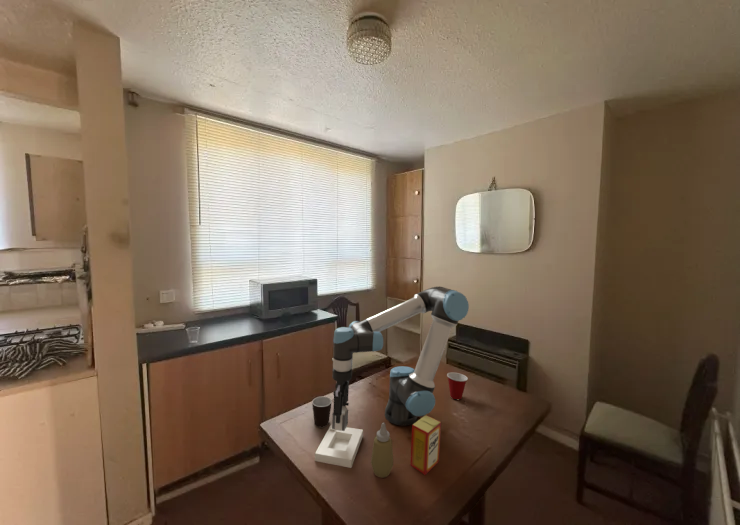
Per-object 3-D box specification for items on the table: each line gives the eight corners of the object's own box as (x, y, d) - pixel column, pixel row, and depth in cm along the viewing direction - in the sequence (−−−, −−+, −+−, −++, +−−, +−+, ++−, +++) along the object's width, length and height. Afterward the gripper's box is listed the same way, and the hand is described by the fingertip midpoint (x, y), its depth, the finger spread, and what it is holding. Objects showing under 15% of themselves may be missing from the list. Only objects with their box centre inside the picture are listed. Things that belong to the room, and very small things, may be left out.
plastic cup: (470, 397, 162) (471, 376, 161) (460, 405, 154) (461, 382, 153) (452, 390, 169) (453, 369, 168) (441, 396, 162) (442, 375, 161)
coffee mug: (327, 430, 130) (328, 408, 130) (308, 427, 132) (309, 405, 131) (335, 415, 142) (336, 394, 141) (318, 412, 143) (318, 392, 143)
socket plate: (362, 436, 127) (362, 427, 127) (351, 467, 109) (351, 458, 109) (330, 431, 130) (331, 422, 129) (314, 460, 112) (315, 451, 112)
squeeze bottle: (369, 463, 112) (371, 417, 110) (391, 462, 112) (393, 416, 111) (371, 481, 104) (373, 431, 102) (394, 480, 104) (396, 430, 103)
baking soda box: (425, 475, 107) (427, 432, 106) (410, 465, 112) (412, 423, 110) (439, 461, 114) (441, 420, 113) (424, 452, 119) (426, 413, 117)
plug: (347, 424, 121) (348, 407, 120) (344, 430, 116) (345, 413, 116) (335, 422, 122) (336, 405, 121) (331, 428, 117) (332, 411, 117)
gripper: (340, 358, 126) (338, 412, 128) (325, 376, 109) (323, 438, 111) (357, 360, 125) (355, 414, 127) (345, 379, 108) (343, 441, 109)
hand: (340, 425), depth 119 cm, fingers closed on plug, 4 cm apart
